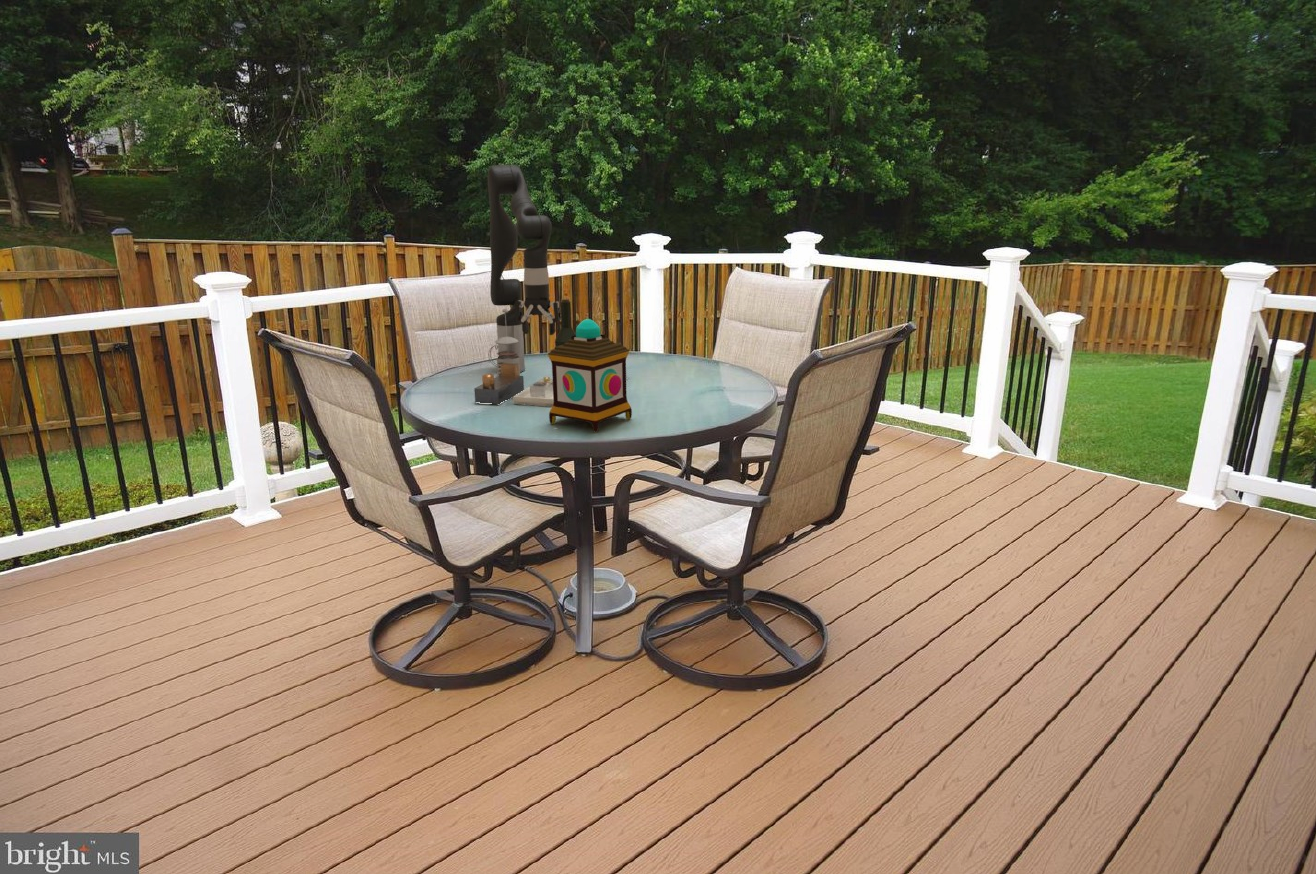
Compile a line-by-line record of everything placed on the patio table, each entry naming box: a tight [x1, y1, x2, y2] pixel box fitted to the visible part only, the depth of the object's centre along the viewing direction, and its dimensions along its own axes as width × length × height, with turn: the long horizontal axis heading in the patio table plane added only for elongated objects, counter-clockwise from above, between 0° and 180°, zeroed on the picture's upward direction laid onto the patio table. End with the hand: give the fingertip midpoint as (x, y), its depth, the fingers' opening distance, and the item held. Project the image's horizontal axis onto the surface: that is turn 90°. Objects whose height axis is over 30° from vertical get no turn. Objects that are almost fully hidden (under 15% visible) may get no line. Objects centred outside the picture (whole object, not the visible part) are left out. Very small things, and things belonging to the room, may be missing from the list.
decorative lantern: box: [547, 318, 633, 433], centre depth 250 cm, size 20×20×30 cm
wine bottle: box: [554, 298, 576, 348], centre depth 288 cm, size 8×8×30 cm
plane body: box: [473, 363, 525, 405], centre depth 282 cm, size 20×8×9 cm, turn 165°
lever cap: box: [529, 376, 553, 398], centre depth 278 cm, size 10×5×6 cm, turn 165°
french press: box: [487, 308, 521, 377], centre depth 302 cm, size 10×12×25 cm
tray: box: [512, 386, 554, 408], centre depth 279 cm, size 16×14×2 cm
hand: (539, 334), depth 274 cm, fingers open, 8 cm apart
